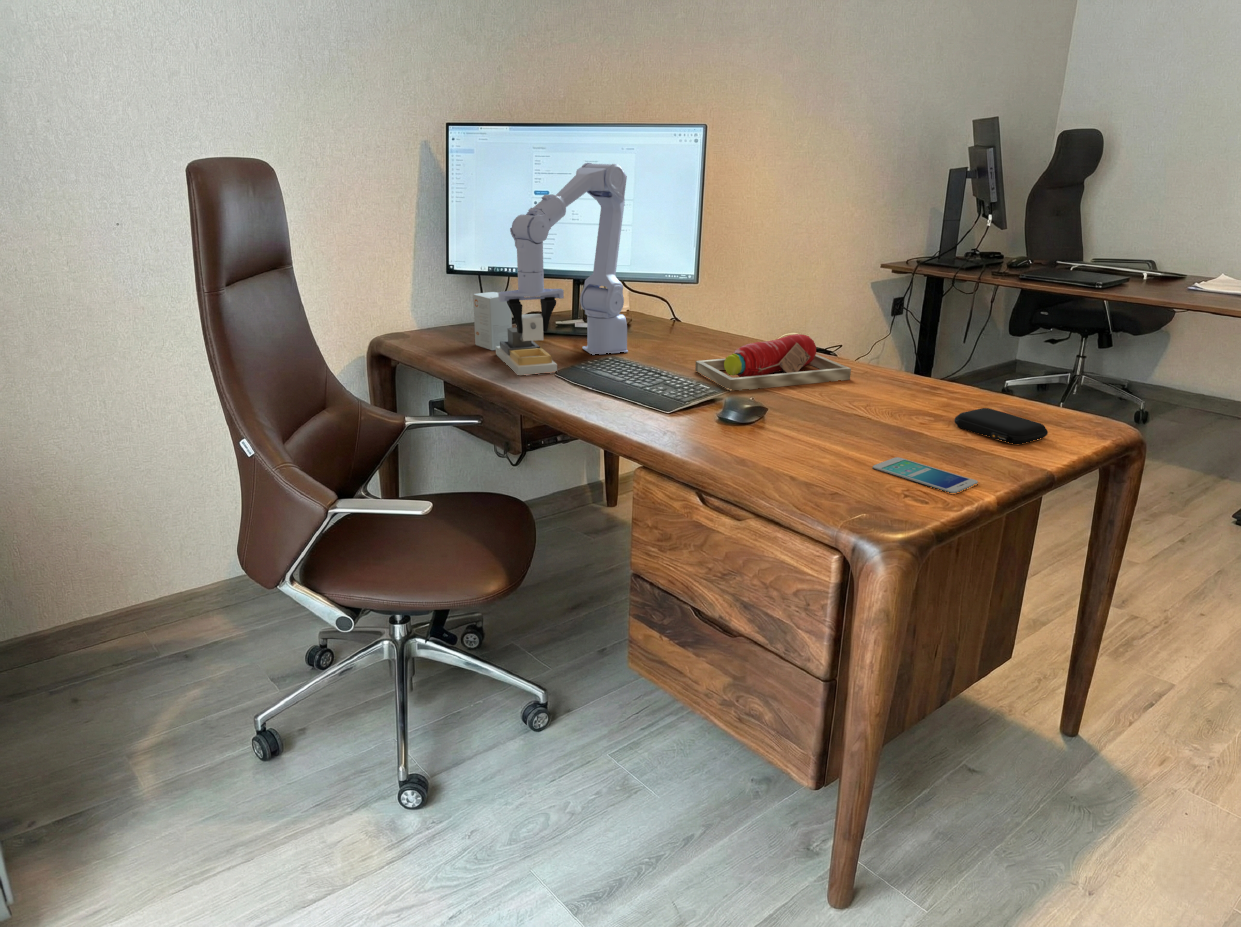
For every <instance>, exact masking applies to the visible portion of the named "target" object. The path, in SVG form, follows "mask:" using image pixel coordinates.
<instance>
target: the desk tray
mask: <svg viewBox="0 0 1241 927" xmlns="http://www.w3.org/2000/svg"><path fill="white" fill-rule="evenodd" d="M725 359H726V358H717V359H716V358H715V359H706V360H705V359H703V360H695V367H694V368H695V369H694V370H695V371H697V372H699V373H701V374H702V375H704V376H706V377H708V378H710V379H711V380H713V381H715V382H716V383H718V384H720V385H722V386H724V387H726V388H729V389H732V390H739V391H743V390H742V389H749V390H757V389H758V388H760V389H768V388H778V387H787V386H799V385H808V384H818V383H827V382H828V383H829V381H831V382H839V381H838V380H841V381H850V380H851V374H852V373H851V372H852V368H851V367H848V366H846V365H843V364H842V363H839V362H836V361H834V360H831V359H828V358H826V357H824V356H821V355H819V354H817V353H816V355H815V357H814V359H813V360H812V361H811V362H810V363H809V364H808V365H810V366H812V367H814V368H816V369H815V370H805V371H804V370H803V371H798V372H792V373H784V372H782V373H774V374H773V373H771V374H768V375H760V376H749V377H739V376H737V377H731V375H729V374H727V373H725V372H724V371H719V370H725V368H724V361H725ZM695 371H694V372H695ZM702 375H701V376H702ZM711 380H710V381H711ZM716 383H715V384H716ZM718 384H717V385H718Z"/></svg>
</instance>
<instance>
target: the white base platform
mask: <svg viewBox="0 0 1241 927" xmlns="http://www.w3.org/2000/svg"><path fill="white" fill-rule="evenodd" d="M495 355H496V356H497V357H498V358H499V359H500V360H501V361H502V362H503V363H504V362H505V363H506V364H505V363H504V364H505V365H506V366H507V365H508V366H509V367H510V368H511V369H512V370H513V371H514V372H515V373H516V374H518V375H524V374H535V373H544V372H552V371H557V372H558V364H557V363H556V362H555V361H554V360H553V356H552V355H551V354H549V352H547V351H546V350H545V349H543V348H542V347H541V346H539V345H538V343H536V342H535V341H532V347H520V348H510V347H509V346H508V341H500V346H496V350H495ZM508 366H507V367H508ZM509 367H508V368H509ZM510 368H509V369H510ZM511 369H510V370H511ZM512 370H511V371H512ZM513 371H512V372H513ZM515 373H514V374H515ZM516 374H515V375H516Z"/></svg>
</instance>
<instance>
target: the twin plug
mask: <svg viewBox="0 0 1241 927" xmlns="http://www.w3.org/2000/svg"><path fill="white" fill-rule="evenodd" d="M507 329H508V346H509V347H510V348H520V347H532V341H523V337H522V333H518V332H517V327H512V328H507Z"/></svg>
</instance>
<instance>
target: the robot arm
mask: <svg viewBox="0 0 1241 927" xmlns="http://www.w3.org/2000/svg"><path fill="white" fill-rule="evenodd" d="M627 180H628V176H627V174H626V173H625V171H624V169H623V167H622V166H621V165H620V164H618V163H592V162H585V163H584V164H582V166H581V167H579V168H578V169H576V172H575V175H574V176H573V177H572V178H571V179H570V180H569V181H568V182H567V183H566V184H565V185H564V186H563V187H562V188H561V189H560V190H559V191H558V192H557V193H556V194H552V193H551V194H544V195H543V196H542V197H541V200H540V201H539V202H538V203H536V204H535V205H534V206H533V207H530V208H528V212H526V213H525V214H519V215H517V216H516V217H515V218H514V219H513V222H512V223H511V227H510V228H509V231H510V235H511V237H512V238H513V240H514V247H515V249H516V259H517V260H516V263H517V288H518V289H513V290H506V291H505V290H504V291H498V292H497V293H498V298H499V301H500V302H505V301H507V304H508V306H509V308H510V310H511V315H512V316H513V320H514V322H515V328H517V332H518V333H522V331H523V328H522V314H523V304H522V303H521V301H529V300H530V301H531V300H533V301H534V300H540V310H541V315H542V317H543V333H546V332H548V328H549V324H550V320H551V317H552V314H553V311H554V310H555V308H556V306H557V300H556V299H558V300H559V299H562V300H563V299H565V298H564V297H565V296H564V291H565V290H564V289H562V288H545V286H544V285H545V280H544V277H545V276H544V275H545V274H544V272H545V270H544V242H545V241H546V240H547V238H548V237H549V236H548V235H549V232H550V230H552V227H553V226H554V225H556V224H557V223H558V222H559V221H560V220H561V219H562V218H564V217H565V215H566V213H567V207H569V206H570V205H571V204H573V203H574V202H575V201H577V200H578V199H579V198H581V197H582V196H584V194H586V193H587V194H588V195H590V197H592V198H593V199H594V200H596V202H597V203H598V205H599V206H600V213H599V221H598V229H597V237H596V238H597V239H596V246H595V253H594V254H595V255H594V263H593V271H592V274H590V275H589V276H588V277H587V278H586V279H585V280H584V285H583V288H582V290H581V293H580V297H579V303H580V306H581V308H582V309H583V310H584V315H586V318H587V319H586V322H587V323H586V324H587V325H586V327H587V332H586V333H587V334H586V335H587V336H586V337H587V342H586V343H587V345H583V346H582V349H583V350H584V351H586V352H587V353H589V355H591V354H592V355H591V356H596V355H595V354H599V355H610V354H609V353H611V354H620V352H624V353H629V350H628V325H627V324H628V323H627V319H626V316H625V315H624V314H621V312H622V310H623V307H624V303H625V299H624V293H623V292H624V285H623V284H622V282H621V281H620V280H619V278H617V276H616V274H617V266H618V258H619V250H620V241H621V234H622V228H623V227H622V226H623V220H624V219H623V218H624V210H625V201H626V200H625V194H626V186H627ZM604 287H605V288H604ZM606 353H608V354H606Z"/></svg>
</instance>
